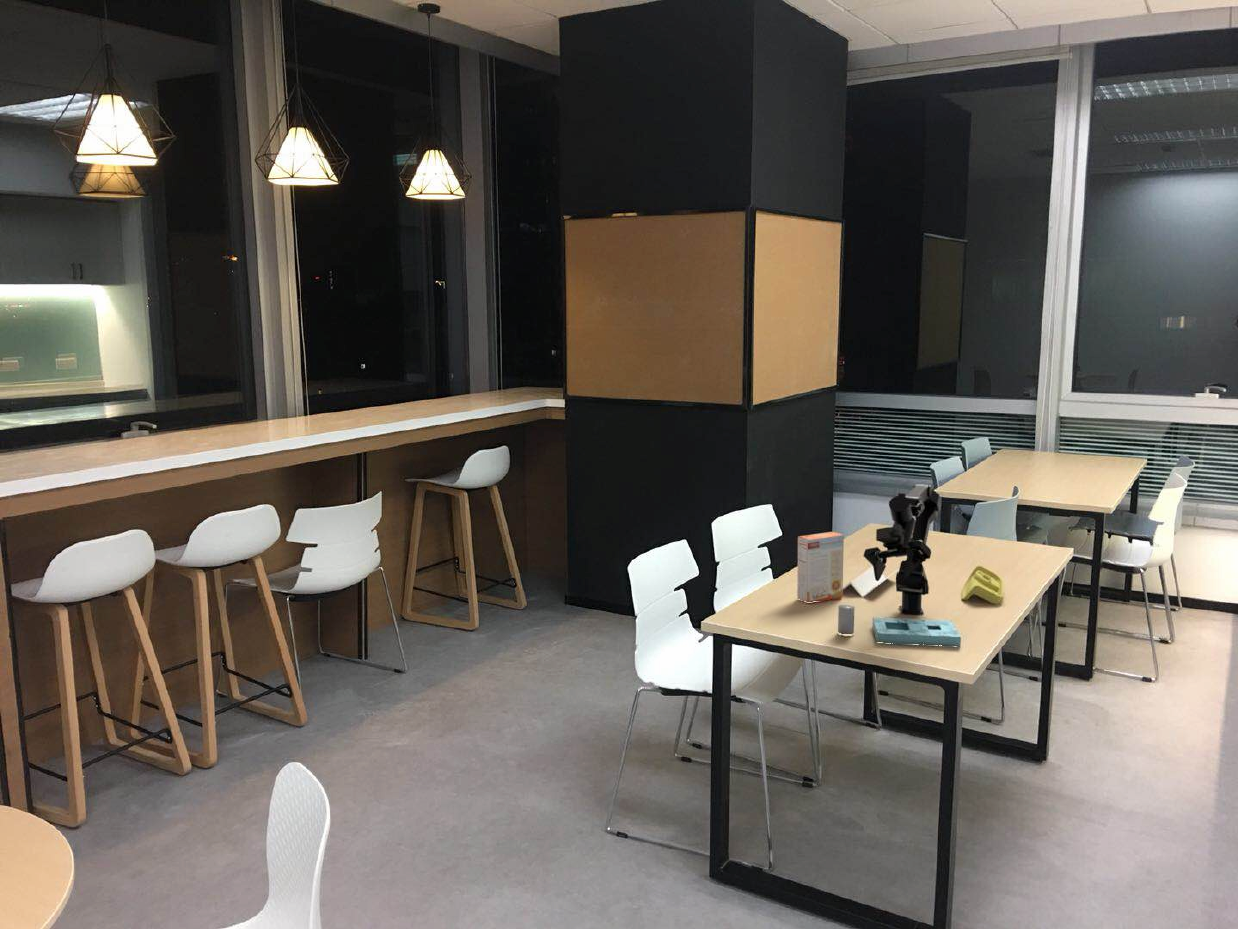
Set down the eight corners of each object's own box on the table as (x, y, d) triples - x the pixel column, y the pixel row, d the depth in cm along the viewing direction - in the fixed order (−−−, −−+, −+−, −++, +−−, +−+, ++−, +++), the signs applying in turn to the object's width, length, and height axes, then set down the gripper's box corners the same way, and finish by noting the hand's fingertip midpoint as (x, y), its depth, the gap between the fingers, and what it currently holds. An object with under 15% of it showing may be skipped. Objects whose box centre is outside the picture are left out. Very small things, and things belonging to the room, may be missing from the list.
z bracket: (849, 608, 314) (836, 593, 315) (873, 589, 334) (861, 575, 336) (876, 586, 308) (863, 571, 309) (899, 568, 329) (886, 554, 330)
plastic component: (1003, 598, 300) (972, 582, 303) (990, 617, 303) (960, 601, 305) (1003, 577, 318) (974, 562, 321) (991, 595, 321) (963, 580, 323)
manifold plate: (872, 627, 282) (872, 617, 281) (951, 630, 278) (952, 620, 278) (877, 643, 268) (877, 633, 267) (960, 647, 264) (960, 637, 264)
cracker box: (831, 593, 315) (833, 530, 311) (843, 598, 309) (845, 534, 306) (795, 599, 309) (797, 535, 306) (807, 604, 303) (808, 539, 300)
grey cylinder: (837, 631, 278) (838, 604, 277) (853, 632, 278) (853, 605, 277) (838, 636, 274) (839, 609, 273) (854, 637, 274) (855, 609, 272)
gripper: (858, 521, 281) (846, 566, 272) (915, 510, 267) (903, 557, 259) (880, 543, 285) (868, 588, 277) (936, 534, 272) (926, 580, 264)
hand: (890, 578), depth 269 cm, fingers open, 9 cm apart
